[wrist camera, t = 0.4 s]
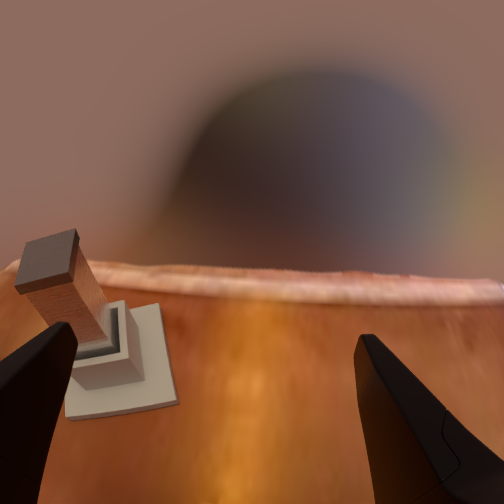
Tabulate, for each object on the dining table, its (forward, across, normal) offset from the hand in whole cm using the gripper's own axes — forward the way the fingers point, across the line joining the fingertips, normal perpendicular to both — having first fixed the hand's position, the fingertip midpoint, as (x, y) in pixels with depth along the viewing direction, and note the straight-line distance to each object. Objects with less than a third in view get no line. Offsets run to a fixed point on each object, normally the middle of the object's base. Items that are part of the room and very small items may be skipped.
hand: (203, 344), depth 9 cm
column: (+10, +11, +14) cm, 20 cm away
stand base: (+10, +11, +15) cm, 21 cm away
